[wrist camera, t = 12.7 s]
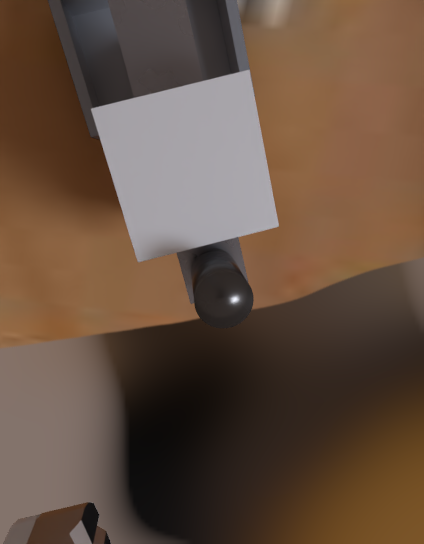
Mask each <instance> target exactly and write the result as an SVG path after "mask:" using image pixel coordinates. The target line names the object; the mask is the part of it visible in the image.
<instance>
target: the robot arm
mask: <svg viewBox="0 0 424 544" xmlns="http://www.w3.org/2000/svg"><path fill="white" fill-rule="evenodd" d="M98 518H99V513H98V511H97V509H96V507H95V505H94V503H91V502H87V503H83V504H79V505H74V506H71V507H67V508H62V509H58V510H54V511H49V512H45V513H42V514H40V515H35V516H31V517H26V518H22V519H18V520H17V521H16V522H15V523H14V524H13V525H12V526H11V528H10V530H9V532H8V534H7V537H6V538H5V541H4V543H3V544H111V543H110V539H109V537H108V534H107V532H106V531H105V530H104V529H102V528H100V527H98V526H97V524H98Z"/></svg>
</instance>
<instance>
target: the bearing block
mask: <svg viewBox="0 0 424 544" xmlns="http://www.w3.org/2000/svg"><path fill="white" fill-rule="evenodd" d="M91 111H92V114H93V118H94V121H95V124H96V127H97V131H98V134H99V137H100V140H101V144H102V147H103V150H104V153H105V157H106V160H107V163H108V166H109V170H110V173H111V176H112V179H113V183H114V186H115V189H116V192H117V196H118V199H119V202H120V205H121V209H122V212H123V215H124V218H125V222H126V225H127V228H128V231H129V235H130V238H131V241H132V244H133V248H134V251H135V254H136V257H137V261H138V262H141V261H145V260H149V259H153V258H157V257H161V256H165V255H169V254H173V253H177V252H181V251H185V250H189V249H192V248H196V247H200V246H204V245H208V244H212V243H216V242H220V241H224V240H228V239H232V238H236V237H240V236H244V235H248V234H252V233H255V232H259V231H263V230H267V229H271V228H275V227H279V224H278V219H277V214H276V208H275V203H274V198H273V193H272V187H271V182H270V177H269V171H268V166H267V161H266V156H265V150H264V145H263V140H262V134H261V129H260V124H259V118H258V113H257V108H256V103H255V97H254V92H253V87H252V81H251V76H250V71H249V70H246V71H242V72H238V73H234V74H230V75H226V76H222V77H217V78H213V79H209V80H205V81H201V82H197V83H193V84H189V85H185V86H181V87H177V88H173V89H169V90H165V91H161V92H157V93H153V94H149V95H144V96H140V97H136V98H132V99H128V100H124V101H120V102H116V103H112V104H108V105H104V106H100V107H96V108H92V109H91Z"/></svg>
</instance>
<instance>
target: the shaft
mask: <svg viewBox="0 0 424 544" xmlns="http://www.w3.org/2000/svg"><path fill="white" fill-rule="evenodd" d="M108 4H109V8H110V11H111V15H112V18H113V22H114V26H115V29H116V33H117V37H118V40H119V44H120V48H121V51H122V55H123V59H124V62H125V66H126V69H127V73H128V77H129V80H130V84H131V88H132V91H133V95H134V98H136V97H140V96H144V95H149V94H153V93H157V92H161V91H165V90H169V89H173V88H177V87H181V86H185V85H189V84H193V83H197V82H201V81H203V77H202V72H201V68H200V63H199V59H198V54H197V50H196V46H195V41H194V37H193V32H192V28H191V23H190V19H189V14H188V10H187V5H186V1H185V0H108ZM177 255H178V259H179V263H180V266H181V270H182V274H183V277H184V281H185V285H186V288H187V292H188V295H189V299H190V303H191V304H192V303H194V304H195V309H196V312H197V314H198V315H199V317H200V318H201V319H202V320H203V321H204V322H205V323H207V324H208V325H210V326H213V327H216V328H229V327H233V326H236V325H237V324H239V323H241V322H242V321H243V320H244V319H245V318H246V317H247V316H248V315H249V313H250V311H251V309H252V306H253V293H252V290H251V287H250V286H249V284H248V279H247V275H246V270H245V266H244V261H243V257H242V252H241V248H240V243H239V239H238V237H236V238H232V239H228V240H224V241H220V242H216V243H212V244H208V245H204V246H200V247H196V248H192V249H189V250H185V251H181V252H177Z"/></svg>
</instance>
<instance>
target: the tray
mask: <svg viewBox="0 0 424 544" xmlns="http://www.w3.org/2000/svg"><path fill="white" fill-rule="evenodd" d="M185 1H186V5H187V10H188V14H189V19H190V23H191V28H192V32H193V37H194V41H195V46H196V50H197V54H198V59H199V63H200V68H201V72H202V77H203V81H205V80H209V79H213V78H217V77H222V76H226V75H230V74H234V73H238V72H242V71H246V70H249V71H250V68H249V63H248V58H247V52H246V47H245V42H244V36H243V31H242V26H241V21H240V15H239V10H238V5H237V0H185ZM48 2H49V6H50V9H51V12H52V15H53V18H54V22H55V25H56V28H57V31H58V34H59V37H60V41H61V44H62V47H63V50H64V53H65V57H66V60H67V63H68V66H69V69H70V72H71V76H72V79H73V82H74V85H75V88H76V92H77V95H78V98H79V101H80V104H81V107H82V111H83V114H84V117H85V120H86V123H87V127H88V130H89V133H90V136H91V137H92V138H95V139H99V140H100V137H99V134H98V131H97V127H96V124H95V121H94V118H93V114H92V111H91V109H92V108H96V107H100V106H104V105H108V104H112V103H116V102H120V101H124V100H128V99H132V98H134V95H133V91H132V88H131V84H130V80H129V77H128V73H127V69H126V66H125V62H124V59H123V55H122V51H121V48H120V44H119V40H118V37H117V33H116V29H115V26H114V22H113V18H112V15H111V11H110V8H109V4H108V0H48ZM250 76H251V74H250ZM251 81H252V79H251ZM252 87H253V84H252ZM253 92H254V89H253ZM254 97H255V95H254Z"/></svg>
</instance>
